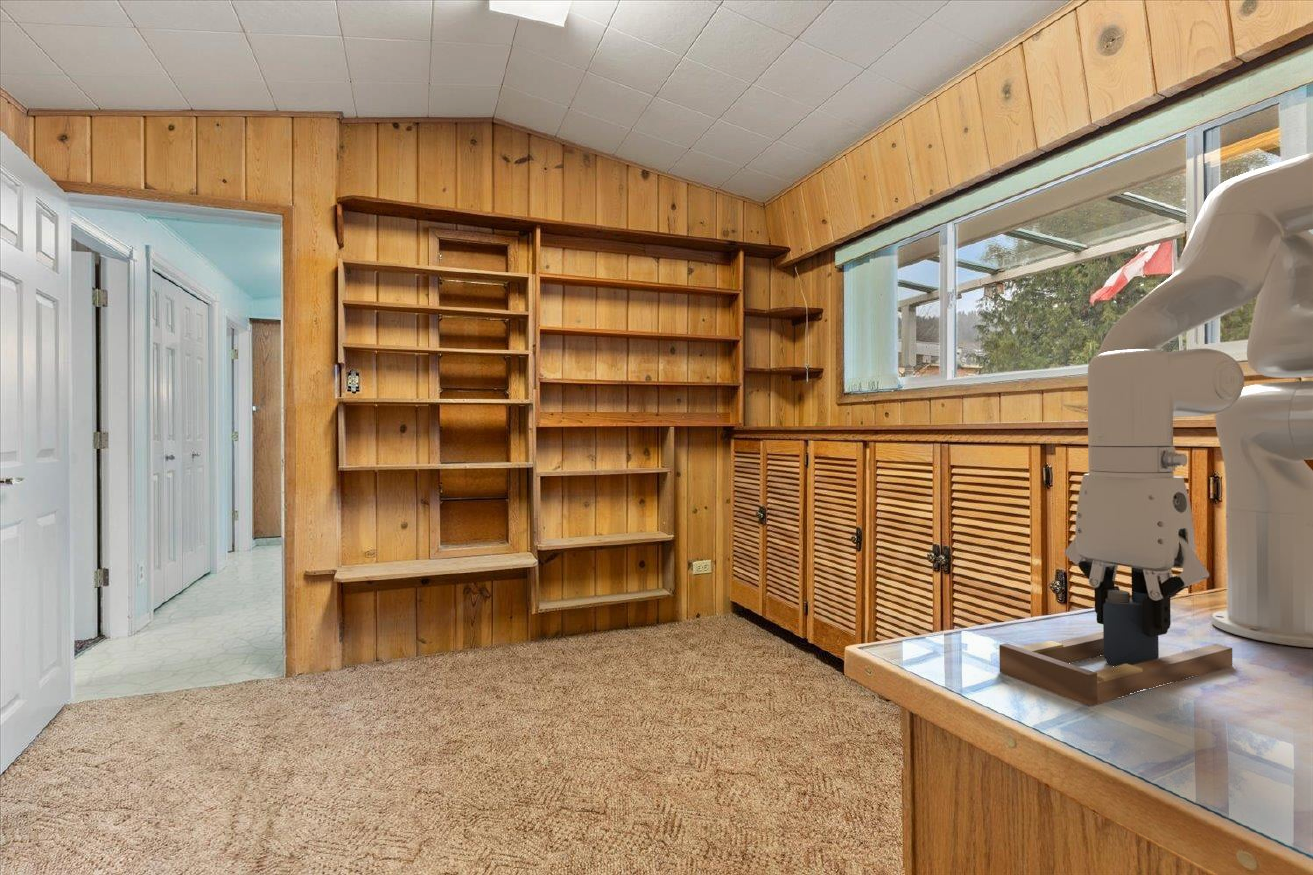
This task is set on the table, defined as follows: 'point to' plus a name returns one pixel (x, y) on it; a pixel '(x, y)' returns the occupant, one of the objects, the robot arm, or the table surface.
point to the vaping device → (1127, 625)
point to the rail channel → (1056, 675)
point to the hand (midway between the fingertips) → (1131, 626)
